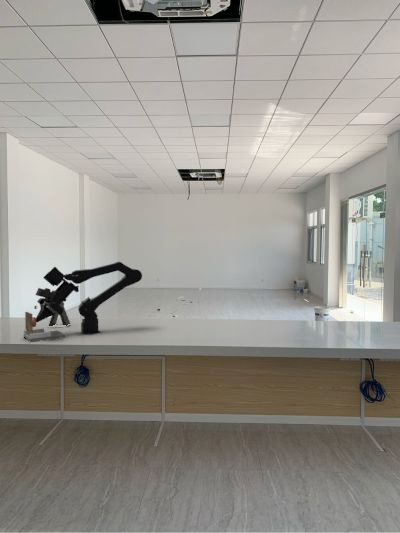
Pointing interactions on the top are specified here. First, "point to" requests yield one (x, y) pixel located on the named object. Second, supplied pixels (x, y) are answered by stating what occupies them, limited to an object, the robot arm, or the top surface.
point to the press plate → (30, 322)
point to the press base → (42, 335)
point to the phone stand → (63, 316)
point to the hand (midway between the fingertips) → (35, 321)
